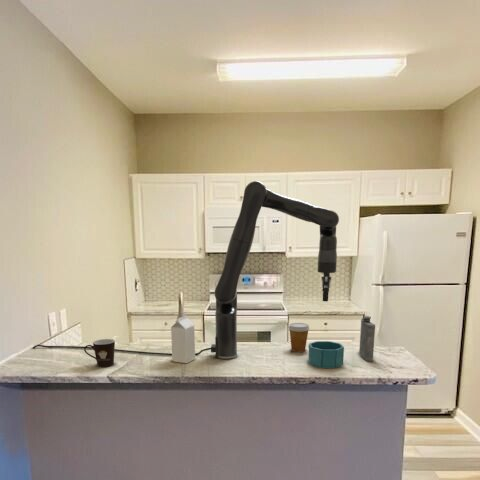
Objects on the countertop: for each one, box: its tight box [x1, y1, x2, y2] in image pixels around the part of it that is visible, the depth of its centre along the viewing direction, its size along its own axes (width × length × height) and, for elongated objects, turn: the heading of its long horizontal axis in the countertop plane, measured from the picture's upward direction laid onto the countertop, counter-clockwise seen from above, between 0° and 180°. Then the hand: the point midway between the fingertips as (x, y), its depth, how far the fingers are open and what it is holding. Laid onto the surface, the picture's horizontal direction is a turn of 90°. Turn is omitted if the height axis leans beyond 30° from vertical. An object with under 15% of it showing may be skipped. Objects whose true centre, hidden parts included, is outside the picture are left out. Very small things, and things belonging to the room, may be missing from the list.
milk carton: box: [170, 315, 196, 364], centre depth 172 cm, size 7×7×19 cm
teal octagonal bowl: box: [307, 340, 345, 369], centre depth 169 cm, size 14×14×8 cm
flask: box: [358, 315, 376, 363], centre depth 176 cm, size 4×14×18 cm, turn 177°
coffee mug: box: [83, 338, 116, 368], centre depth 167 cm, size 12×9×10 cm
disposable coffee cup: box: [288, 322, 310, 353], centre depth 187 cm, size 10×10×12 cm
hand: (325, 299), depth 170 cm, fingers open, 8 cm apart
